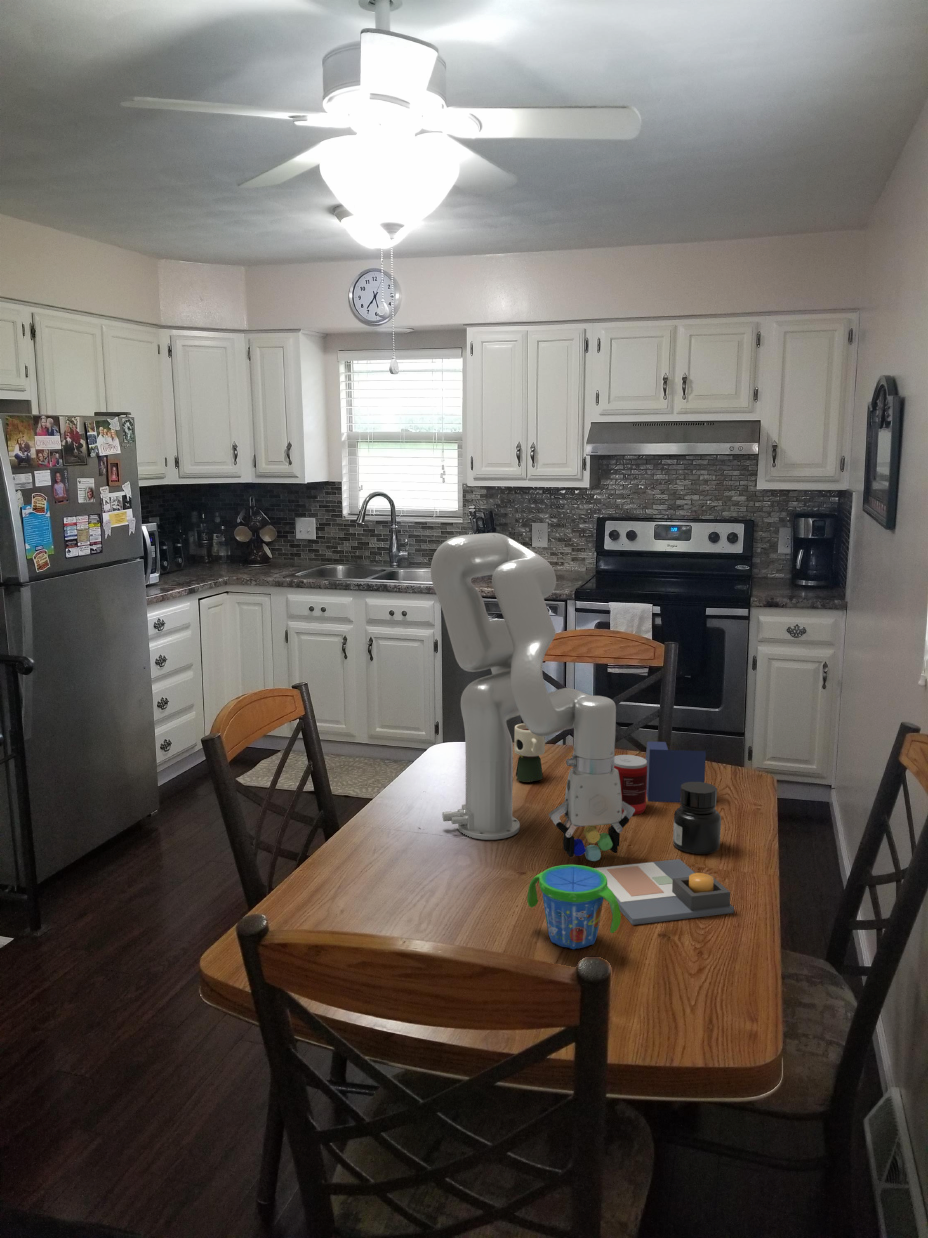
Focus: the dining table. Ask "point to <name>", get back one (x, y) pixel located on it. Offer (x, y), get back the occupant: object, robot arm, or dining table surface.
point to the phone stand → (671, 771)
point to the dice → (592, 850)
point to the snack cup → (574, 903)
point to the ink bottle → (697, 819)
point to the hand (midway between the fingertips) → (591, 852)
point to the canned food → (632, 780)
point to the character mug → (528, 754)
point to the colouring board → (662, 892)
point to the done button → (700, 882)
